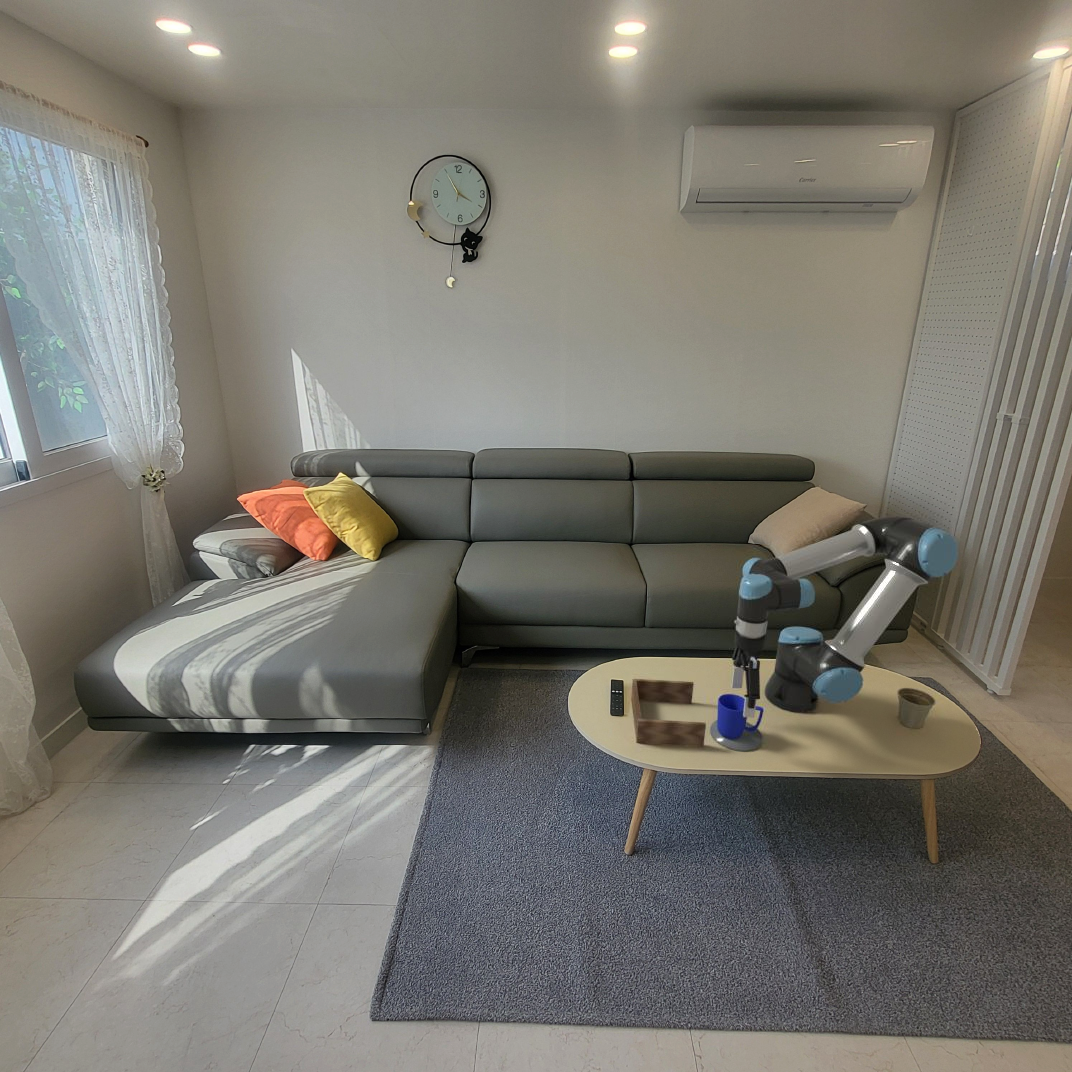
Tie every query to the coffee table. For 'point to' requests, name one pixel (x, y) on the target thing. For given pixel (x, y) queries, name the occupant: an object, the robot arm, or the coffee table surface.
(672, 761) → the coffee table surface
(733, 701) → the mug
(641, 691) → the u-shaped wooden frame
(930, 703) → the flower pot
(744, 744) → the grey round disc
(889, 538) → the robot arm
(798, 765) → the coffee table surface
